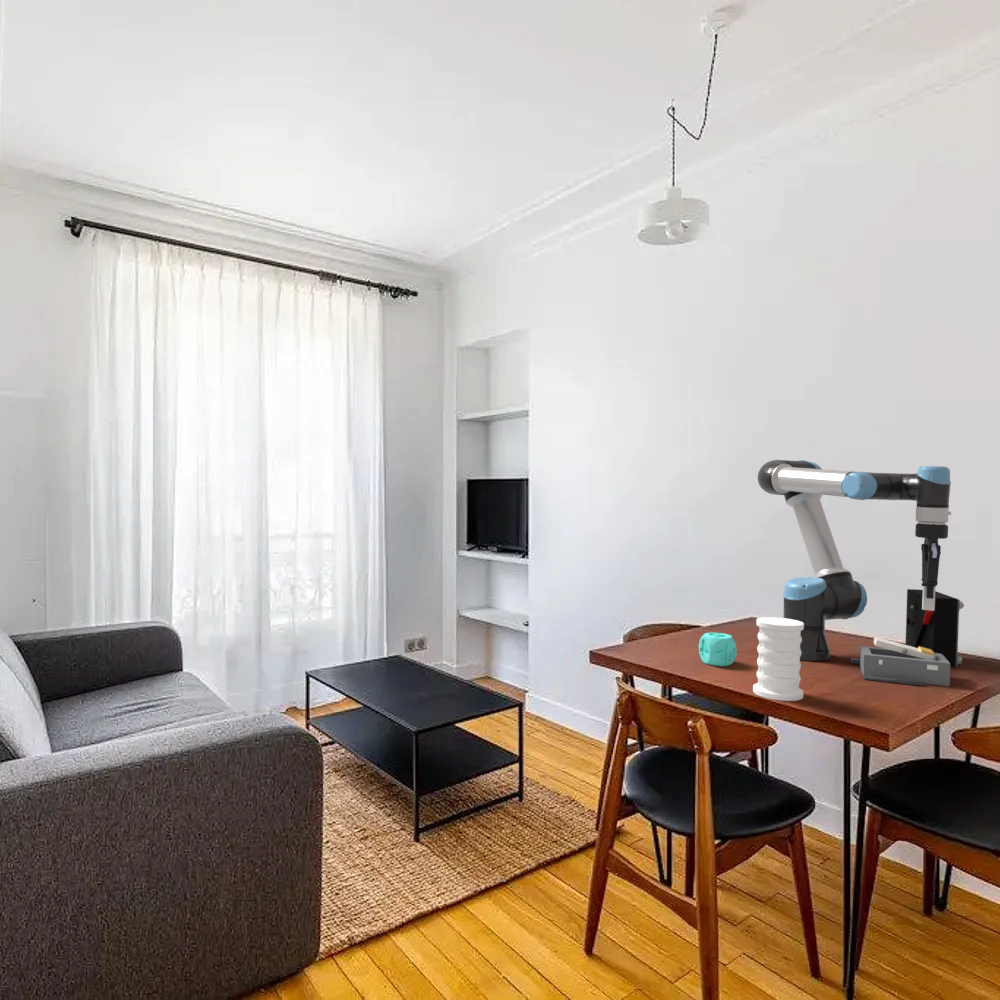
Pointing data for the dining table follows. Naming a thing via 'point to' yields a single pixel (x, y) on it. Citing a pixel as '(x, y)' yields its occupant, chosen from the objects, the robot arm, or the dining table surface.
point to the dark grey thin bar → (894, 680)
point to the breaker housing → (904, 666)
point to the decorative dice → (717, 649)
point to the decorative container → (779, 659)
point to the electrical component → (934, 625)
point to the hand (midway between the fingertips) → (928, 609)
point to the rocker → (905, 649)
